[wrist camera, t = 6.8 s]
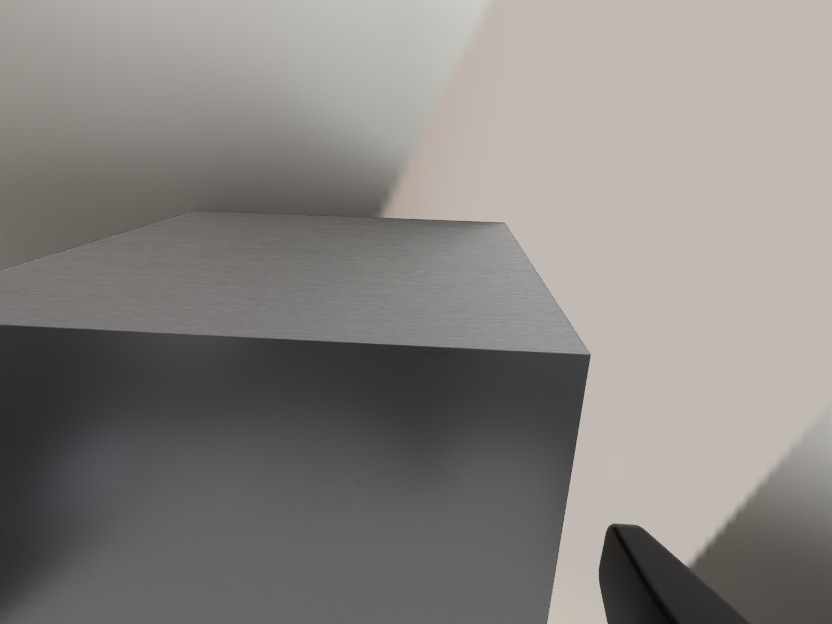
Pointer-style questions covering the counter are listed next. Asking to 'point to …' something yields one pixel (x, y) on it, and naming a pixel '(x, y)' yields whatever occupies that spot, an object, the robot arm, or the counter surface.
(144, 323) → the gray rectangular block
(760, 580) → the counter surface
